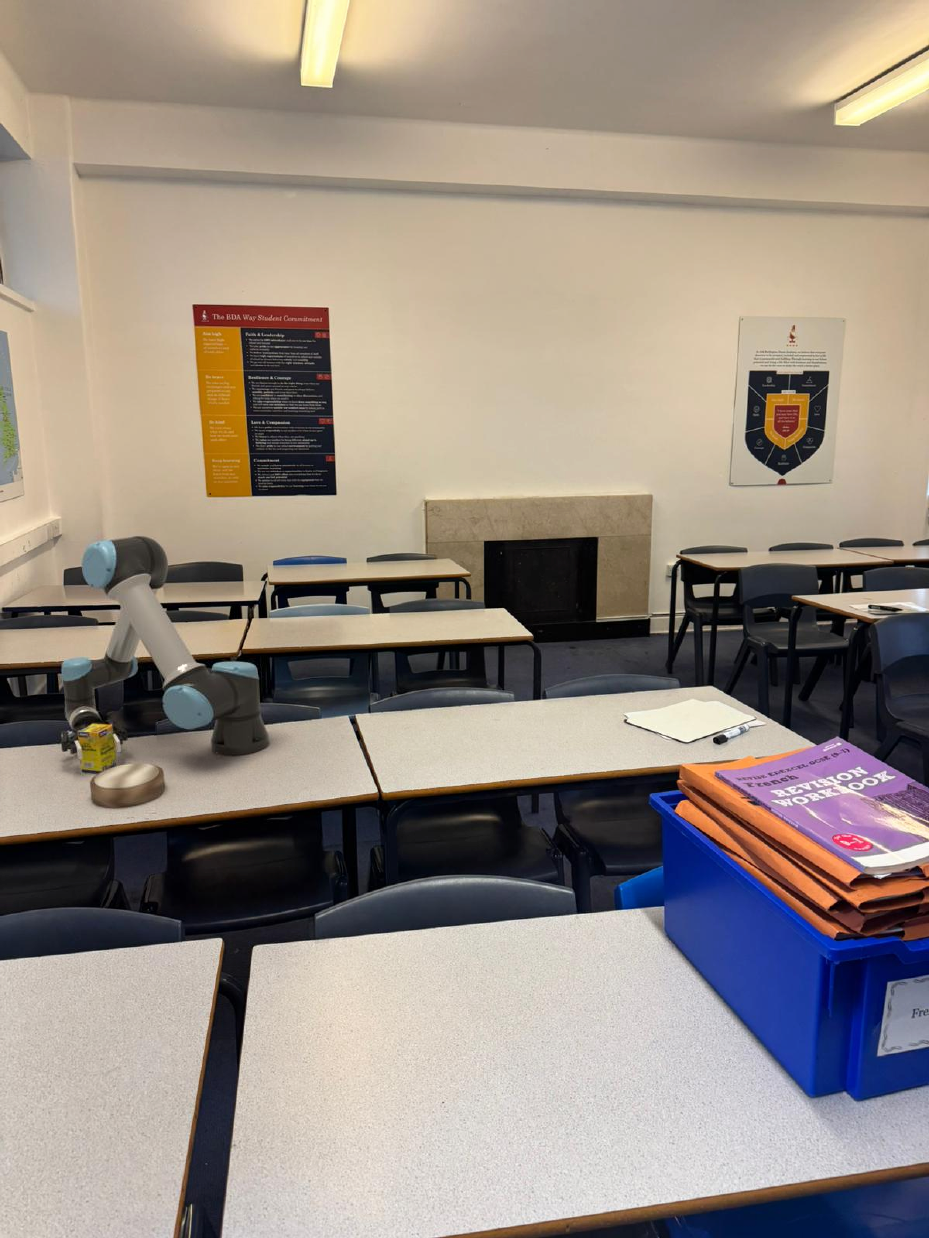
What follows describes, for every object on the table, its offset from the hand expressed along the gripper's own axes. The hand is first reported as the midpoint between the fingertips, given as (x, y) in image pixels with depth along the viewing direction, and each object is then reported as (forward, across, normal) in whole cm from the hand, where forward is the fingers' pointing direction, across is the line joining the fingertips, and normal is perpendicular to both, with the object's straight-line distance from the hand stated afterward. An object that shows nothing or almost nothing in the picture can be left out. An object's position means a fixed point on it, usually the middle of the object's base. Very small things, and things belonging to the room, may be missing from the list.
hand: (99, 750), depth 199 cm
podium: (+15, -4, -6) cm, 16 cm away
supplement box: (-5, 0, -7) cm, 8 cm away
